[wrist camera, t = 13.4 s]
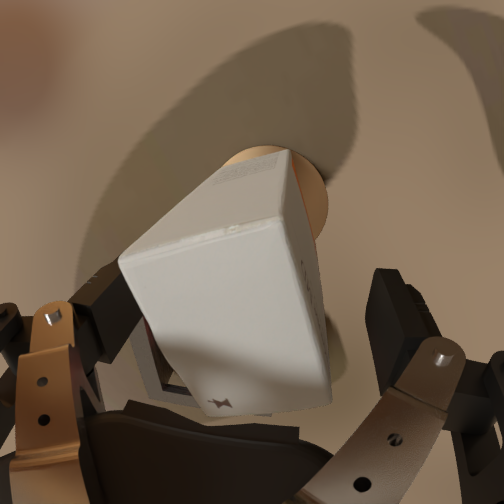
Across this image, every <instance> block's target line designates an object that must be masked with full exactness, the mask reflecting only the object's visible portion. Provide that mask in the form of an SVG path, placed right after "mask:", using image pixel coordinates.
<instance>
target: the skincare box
mask: <svg viewBox="0 0 504 504" xmlns="http://www.w3.org/2000/svg"><path fill="white" fill-rule="evenodd" d="M118 264H119V268H120V270H121V272H122V274H123V276H124V278H125V280H126V282H127V284H128V286H129V288H130V290H131V292H132V294H133V296H134V298H135V300H136V301H137V303H138V305H139V307H140V309H141V311H142V313H143V314H144V316H145V318H146V320H147V321H148V323H149V325H150V328H151V330H152V333H153V335H154V338H155V340H156V343H157V345H158V346H159V348H160V350H161V351H162V353H163V355H164V357H165V358H166V360H167V362H168V363H169V364H170V366H171V367H172V368H173V369H174V370H175V371H176V372H177V374H178V375H179V376H180V378H181V379H182V381H183V383H184V384H185V386H186V387H187V388H188V390H189V391H190V393H191V394H192V396H193V397H194V399H195V400H196V402H197V403H198V405H199V406H200V407H201V409H202V410H203V412H204V413H205V415H207V416H208V417H223V416H241V415H256V414H270V413H280V412H290V411H297V410H304V409H311V408H316V407H321V406H326V405H329V404H331V403H332V389H331V375H330V362H329V352H328V342H327V332H326V323H325V314H324V305H323V296H322V288H321V281H320V273H319V266H318V259H317V251H316V244H315V239H314V236H313V233H312V229H311V225H310V221H309V217H308V213H307V209H306V206H305V202H304V199H303V195H302V191H301V188H300V184H299V181H298V177H297V173H296V170H295V166H294V162H293V159H292V155H291V151H290V150H289V149H286V150H282V151H279V152H275V153H271V154H267V155H263V156H259V157H256V158H252V159H248V160H245V161H241V162H237V163H234V164H231V165H227V166H224V167H222V168H220V169H219V170H217V171H216V172H215V173H214V174H213V175H211V176H210V177H209V178H208V179H206V180H205V181H204V182H203V183H202V184H200V185H199V186H198V187H197V188H196V189H195V190H194V191H192V192H191V193H190V194H189V195H188V196H187V197H185V198H184V199H183V200H182V201H181V202H180V203H178V204H177V205H176V206H175V207H174V208H173V209H172V210H171V211H169V212H168V213H167V214H166V215H165V216H164V217H162V218H161V219H160V220H159V221H158V222H157V223H156V224H155V225H153V226H152V227H151V228H150V229H149V230H148V231H147V232H146V233H144V234H143V235H142V236H141V237H140V238H139V239H138V240H137V241H135V242H134V243H133V244H132V245H131V246H130V247H129V248H128V249H126V250H125V251H124V252H123V253H122V254H121V255H120V256H119V259H118Z"/></svg>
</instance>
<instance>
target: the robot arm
mask: <svg viewBox="0 0 504 504" xmlns="http://www.w3.org/2000/svg"><path fill="white" fill-rule="evenodd" d="M122 253H123V252H122ZM122 253H121V254H122ZM121 254H120V255H121ZM120 255H119V256H120ZM119 256H118V257H117V258H116V259H115V260H114V261H113V262H112V263H110V264H108V265H106V266H104V267H102V268H101V269H100V270H99V271H98V272H97V273H95V274H94V275H93V277H91V278H90V279H89V280H88V281H87V283H85V284H84V285H83V286H82V287H81V288H80V289H79V290H78V291H77V292H76V293H75V294H74V295H73V296H72V297H71V298H70V299H69V300H68V301H67V302H66V301H54V302H50V303H48V304H46V305H44V306H42V307H41V308H39V309H38V310H37V311H36V313H35V314H34V316H21V315H20V312H19V310H18V307H17V305H16V304H14V303H3V304H0V352H1V353H2V355H3V357H4V359H5V360H6V362H7V364H8V365H9V368H8V369H7V370H6V371H5V373H4V374H3V375H2V377H1V378H0V449H1V447H2V445H3V443H4V442H5V440H6V438H7V437H8V435H9V433H10V431H11V430H12V428H13V426H14V425H15V439H16V451H14V452H11V453H9V454H7V455H4V456H2V457H0V504H399V502H400V501H401V499H402V498H403V496H404V495H405V493H406V492H407V490H408V489H409V487H410V485H411V484H412V482H413V480H414V479H415V477H416V475H417V474H418V472H419V471H420V469H421V467H422V465H423V464H424V462H425V460H426V458H427V457H428V455H429V453H430V451H431V449H432V447H433V445H434V443H435V441H436V439H437V437H438V435H439V433H440V431H441V429H442V430H448V431H451V435H452V441H453V445H454V451H455V456H456V461H457V467H458V474H459V481H460V489H461V497H462V504H504V351H498V352H496V353H494V354H493V355H492V357H491V359H490V361H489V363H488V364H486V363H481V362H476V361H472V360H468V359H466V356H465V353H464V351H463V350H462V348H461V347H460V346H459V345H458V344H457V343H455V342H454V341H452V340H450V339H447V338H444V337H442V335H441V333H440V331H439V329H438V327H437V325H436V323H435V321H434V319H433V317H432V315H431V313H429V309H428V307H427V305H426V304H425V301H424V299H423V297H422V295H421V293H420V292H419V291H417V290H416V289H415V288H414V287H413V286H412V285H411V284H405V283H404V281H403V279H402V277H401V275H400V273H399V271H398V270H397V269H382V268H376V270H375V272H374V275H373V280H372V284H371V289H370V293H369V298H368V302H367V306H366V313H365V322H366V328H367V332H368V336H369V341H370V346H371V350H372V355H373V360H374V365H375V369H376V375H377V380H378V385H379V391H380V396H382V397H381V399H380V400H379V401H378V403H377V404H376V405H375V407H374V408H373V409H372V411H371V412H370V413H369V415H368V416H367V417H366V418H365V420H364V421H363V422H362V423H361V425H360V426H359V427H358V428H357V429H356V431H355V432H354V433H353V434H352V435H351V437H350V438H349V439H348V440H347V441H346V442H345V444H344V445H343V446H342V447H341V448H340V449H339V451H337V453H336V454H335V455H333V454H331V453H330V452H328V451H327V450H325V449H323V448H321V447H319V446H317V445H315V444H312V443H310V442H307V441H303V440H300V439H299V427H293V426H279V425H267V424H257V423H251V424H239V425H224V426H205V425H202V424H199V423H197V422H195V421H192V420H190V419H188V418H185V417H183V416H181V415H179V414H177V413H174V412H172V411H170V410H168V409H166V408H161V407H157V406H153V405H149V404H145V403H141V402H137V401H133V400H128V402H127V404H126V406H125V408H124V410H114V411H106V410H105V406H104V402H103V397H102V393H101V388H100V383H99V378H98V373H97V370H96V367H95V364H96V363H97V361H100V362H104V363H108V364H111V363H112V362H113V360H114V359H115V357H116V356H117V354H118V353H119V351H120V350H121V348H122V346H123V345H124V343H125V342H126V340H127V339H128V337H129V336H130V334H131V333H132V331H133V330H134V328H135V327H136V325H137V324H138V322H139V321H140V319H141V318H142V316H143V315H144V314H143V313H142V311H141V309H140V307H139V305H138V303H137V301H136V300H135V298H134V296H133V294H132V292H131V290H130V288H129V286H128V284H127V282H126V280H125V278H124V276H123V274H122V272H121V270H120V268H119V264H118V259H119ZM496 421H497V422H498V425H499V428H500V431H501V435H502V440H503V444H502V448H501V449H500V445H499V442H498V438H497V435H496V431H495V428H494V424H495V423H496Z"/></svg>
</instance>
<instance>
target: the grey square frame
mask: <svg viewBox="0 0 504 504" xmlns="http://www.w3.org/2000/svg"><path fill="white" fill-rule="evenodd" d="M129 338H130V341H131V345H132V348H133V351H134V355H135V358H136V361H137V364H138V367H139V370H140V373H141V376H142V379H143V382H144V385H145V388H146V390H147V393H148V396H149V398H150V399H155V400H159V401H164V402H169V403H174V404H179V405H185V406H190V407H196V408H201V407H200V406H199V405H198V403H197V402H196V400H195V399H194V397H193V396H192V394H191V393H190V391H189V390H188V388H187V387H182V386H176V385H171V384H168V382H169V379H170V377H171V375H172V372H173V370H174V369H173V368H172V367H171V366H170V364H169V363H168V362H167V360H166V358H165V357H164V355H163V353H162V351H161V350H160V348H159V346H158V345H157V343H156V340H155V338H154V335H153V333H152V330H151V328H150V325H149V323H148V321H147V320H146V318H145V316H144V315H143V316H142V318H141V319H140V321H139V322H138V324H137V325H136V327H135V328H134V330H133V331H132V333H131V334H130V336H129ZM256 415H257V416H269V417H271V416H272V413H270V414H256Z"/></svg>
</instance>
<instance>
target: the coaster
mask: <svg viewBox="0 0 504 504" xmlns="http://www.w3.org/2000/svg"><path fill="white" fill-rule="evenodd" d="M286 149H288V148H285V147H280V146H274V145H261V146H255V147H252V148H248V149H246V150H243V151H241V152H239V153H238V154H236V155H235V156H233V157H232V158H231V159H230V160H228V161H227V162H226V163H225V164H224V165H223V166H222V167H224V166H227V165H231V164H234V163H237V162H241V161H245V160H248V159H252V158H256V157H259V156H263V155H267V154H271V153H275V152H279V151H282V150H286ZM289 150H290V149H289ZM290 151H291V155H292V159H293V162H294V166H295V170H296V173H297V177H298V181H299V184H300V188H301V191H302V195H303V199H304V202H305V206H306V209H307V213H308V217H309V221H310V225H311V229H312V233H313V236H314V239H316V238H317V237H318V236H319V234H320V232H321V231H322V228H323V226H324V225H325V221H326V218H327V213H328V196H327V191H326V187H325V185H324V182H323V180H322V178H321V176H320V174H319V172H318V171H317V170H316V168H315V167H314V166H313V165H312V164H311V163H310V162H309V161H308V160H307V159H306V158H305V157H303V156H302V155H300V154H299V153H297V152H295V151H293V150H290ZM222 167H221V168H222Z"/></svg>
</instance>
